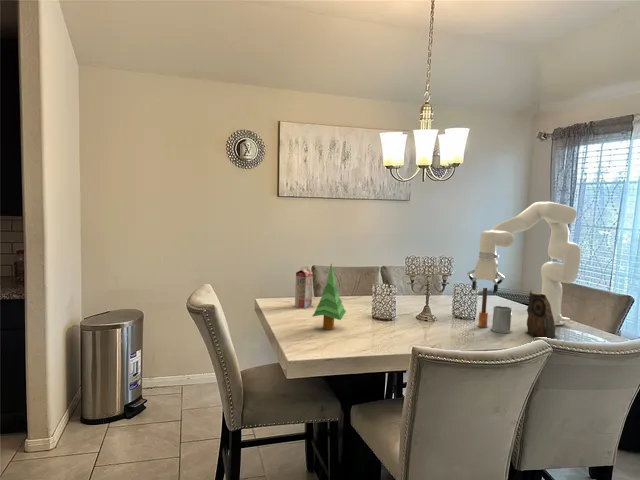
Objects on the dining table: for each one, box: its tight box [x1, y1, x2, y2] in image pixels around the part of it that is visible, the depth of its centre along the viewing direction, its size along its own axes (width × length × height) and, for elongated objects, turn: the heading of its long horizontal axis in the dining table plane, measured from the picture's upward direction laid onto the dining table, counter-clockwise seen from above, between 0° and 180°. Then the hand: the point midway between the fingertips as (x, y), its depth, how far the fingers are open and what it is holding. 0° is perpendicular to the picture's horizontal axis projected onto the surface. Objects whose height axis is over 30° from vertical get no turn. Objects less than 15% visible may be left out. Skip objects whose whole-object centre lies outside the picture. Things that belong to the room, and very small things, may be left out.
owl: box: [526, 290, 556, 339], centre depth 207 cm, size 13×13×20 cm
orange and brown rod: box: [477, 287, 489, 328], centre depth 220 cm, size 4×4×19 cm
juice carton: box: [294, 265, 314, 309], centre depth 247 cm, size 7×7×22 cm
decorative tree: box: [312, 263, 347, 331], centre depth 204 cm, size 14×16×30 cm
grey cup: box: [491, 305, 513, 334], centre depth 213 cm, size 8×8×11 cm
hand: (484, 291), depth 219 cm, fingers open, 9 cm apart
